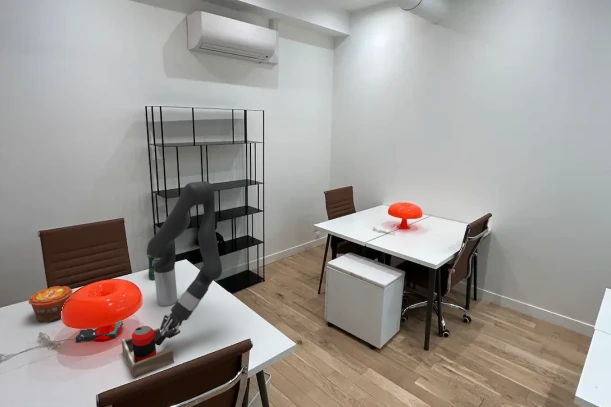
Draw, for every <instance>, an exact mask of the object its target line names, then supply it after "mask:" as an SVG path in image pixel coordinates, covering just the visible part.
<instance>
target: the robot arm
mask: <svg viewBox="0 0 611 407" xmlns="http://www.w3.org/2000/svg"><path fill="white" fill-rule="evenodd" d="M201 205H202V207H203V216H202V221H201V223H200V226H199V229H198V234H197V235H198V236H197V239H198V240H197V241H198V246H199V252H200V255H201V257H202V265H203V266H202V267H201V269H200V270H199V271H198V273H197V275H196V277H195V278H194V280H193V281H192V282H191V283H190V284H189V286H188V288H187V289H186V290H185V291H184V292H183V293H182V294H181V296H180V297H179V298H178V290H177V289H178V288H177V279H176V267H175V265H176V245H175V241H174V240H176V239H177V238H179V237H180V236H181V235H182V234H183V233H184V232H185V231H186V230H187V228H188V227H189V225H190V223H191V215H190V213H189V212H190V210H191V209H193V207H195V206H201ZM215 206H216V198H215V189H214V187H213V184H212V183H211V182H209V181H205V180H204V181H192V182H189V183H186V185H184V187H183V189H182V190H181V193H180V195H179V197H178V199H177V202H176V203H175V205H174V207H173V208H172V210H171V211H170V213H169V214H168V216H167V217H166V219H165V221H164V223H163V224H162V225H161V227H160V228H159V229H158V231H157V232H156V233H155V235H154V236H153V237H152V238H151V239H150V240H149V241H148V243H147V248H146V252H147V251H148V254H149V255H150V256H151V257H152V258H160V259H159V260H158V261H157V262H156V263H155V264H154V275H155V280H154V283H155V293H156V294H155V295H156V301H157V305H158V306H161V307H169V306H172V305H173V306H172V307H171V309H170V311H171V313H170V314H169V315H168V314H164V316H163V319H162V322H161V325H160V328H159V329H160V335H159V336H158V337H157V339H156V340H155V345H156V346H161V345H162V344H163V343H164V341H165V340H166V338H167V339H172V338H174V337H175V336H177V335H179V334H180V333H181V330H180V326H181V327H182V323H183V322H184V321H187V320H189V318H190V316H191V315H192V314H193V312H195V309H196V308H197V307H198V306H199V304H200V302H201V300H202V299H204V297H205V296H206V294H207V293H208V291H209V287H210V285H211V284H212V283H213V281H216V280H217V279H219V278H220V277H221V276H222V273H223V266H222V262H221V258H220V253H219V246H218V245H219V244H218V240H217V235H216V221H215V220H216V219H215V218H216V216H215V215H216V213H215V212H216V207H215Z"/></svg>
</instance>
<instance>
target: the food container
mask: <svg viewBox="0 0 611 407" xmlns="http://www.w3.org/2000/svg"><path fill="white" fill-rule="evenodd" d="M71 295H73V289H72V288H70V287H69V286H66V285H63V286H60V285H57V286H51V287H49V288H44V289H41V290H38V291H37V292H36V293H35V294H32V295H31V296H30V298H29V299H28V304H29V305H31V307H32V310H33V312H34V313H33V314H35V315H34V316H35V318H36V321H37V322H39V323H43V322H45V323H46V322H47V323H52V321H53V322H56V321H60V320H62V319H61V311H62V307H63V305H64V303H65V302H66V300H67V299H68V298H69V297H70V296H71ZM71 297H72V296H71Z"/></svg>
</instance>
